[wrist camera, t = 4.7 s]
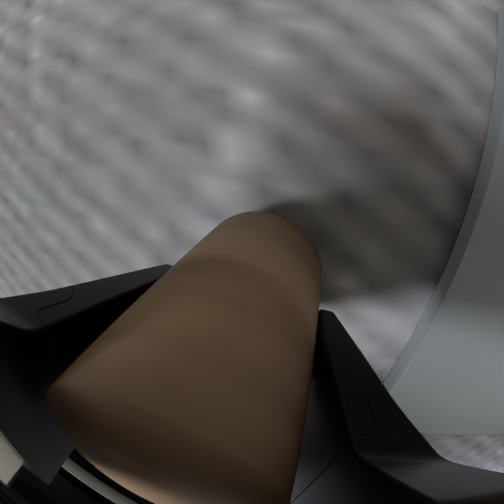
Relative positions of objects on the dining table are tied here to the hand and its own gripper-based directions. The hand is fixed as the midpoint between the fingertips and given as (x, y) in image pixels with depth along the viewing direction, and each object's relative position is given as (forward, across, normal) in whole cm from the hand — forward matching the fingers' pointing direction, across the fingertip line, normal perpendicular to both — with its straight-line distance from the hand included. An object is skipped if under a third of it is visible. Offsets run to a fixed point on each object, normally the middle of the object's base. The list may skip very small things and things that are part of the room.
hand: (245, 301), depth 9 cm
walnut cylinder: (+2, 0, 0) cm, 2 cm away
